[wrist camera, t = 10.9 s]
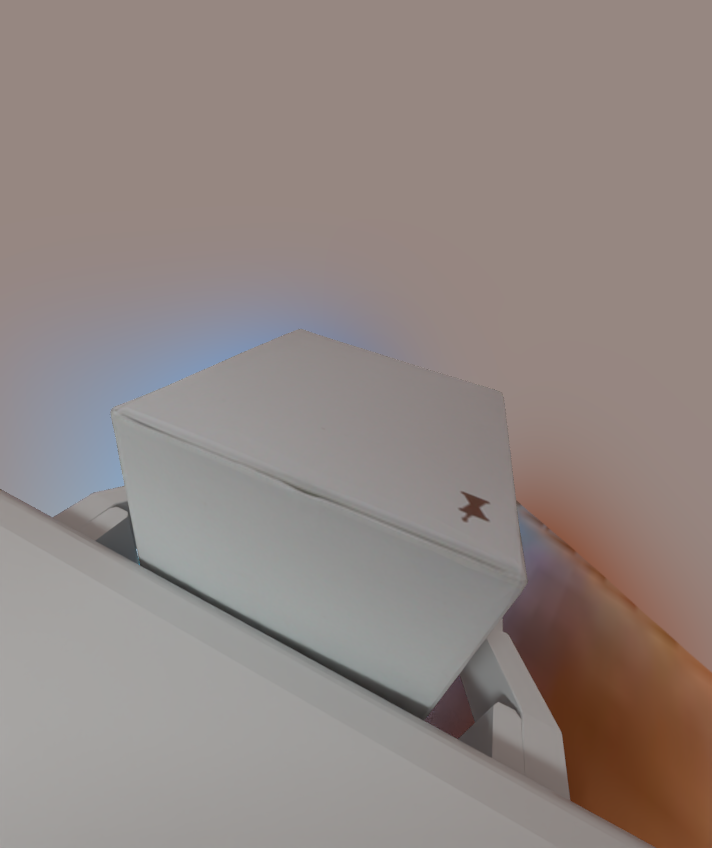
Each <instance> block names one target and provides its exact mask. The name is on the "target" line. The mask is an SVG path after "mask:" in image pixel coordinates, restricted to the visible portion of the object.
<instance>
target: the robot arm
mask: <svg viewBox="0 0 712 848" xmlns="http://www.w3.org/2000/svg"><path fill="white" fill-rule="evenodd" d="M136 549H137V546H136V541H135V536H134V531H133V526H132V520H131V515H130V510H129V505H128V500H127V495H126V490H125V486H122V487H118V488H113V489H108V490H104V491H99V492H94V493H92V494H90V495H89V496H87V497H85V498H84V499H82V500H81V501H79V502H77V503H76V504H74V505H72V506H71V507H69V508H67V509H66V510H64V511H63V512H61V513H59V514H58V515H56V516H54V517H53V518H52V517H51V516H49V515H47V514H45V513H43V512H41V511H40V510H38V509H36V508H34V507H32V506H30V505H29V504H27V503H25V502H23V501H21V500H20V499H18V498H16V497H14V496H12V495H10V494H9V493H7V492H5V491H3V490H1V489H0V848H656V847H654V846H652V845H650V844H648V843H647V842H645V841H643V840H641V839H639V838H637V837H636V836H634V835H632V834H630V833H628V832H626V831H625V830H623V829H621V828H619V827H617V826H615V825H614V824H612V823H610V822H608V821H606V820H604V819H603V818H601V817H599V816H597V815H595V814H593V813H592V812H590V811H588V810H586V809H584V808H582V807H581V806H579V805H577V804H575V803H573V802H572V801H570V794H569V786H568V779H567V771H566V763H565V755H564V747H563V739H562V733H561V731H560V729H559V727H558V725H557V723H556V721H555V720H554V718H553V716H552V714H551V712H550V710H549V709H548V707H547V705H546V703H545V701H544V699H543V697H542V696H541V694H540V692H539V690H538V688H537V686H536V684H535V683H534V681H533V679H532V677H531V675H530V673H529V672H528V670H527V668H526V666H525V664H524V662H523V660H522V659H521V657H520V655H519V653H518V651H517V649H516V648H515V646H514V644H513V642H512V640H511V638H510V636H509V635H508V634H507V633H505V632H503V617H502V618H501V620H500V621H499V622H498V623H497V625H496V626H495V627H494V629H493V630H492V631H491V632H490V634H489V635H488V636H487V638H486V639H485V640H484V642H483V643H482V644H481V646H480V647H479V649H478V650H477V651H476V652H475V654H474V655H473V656H472V658H471V659H470V660H469V662H468V663H467V664H466V666H465V667H464V669H463V670H462V671H461V673H460V677H461V680H462V683H463V686H464V689H465V693H466V696H467V699H468V702H469V705H470V708H471V711H472V715H473V718H474V721H475V723H474V724H473V725H472V726H471V727H470V728H469V729H468V730H467V731H466V732H465V733H464V734H463V735H462V736H461V737H460V738H458V739H456V738H454V737H453V736H451V735H449V734H447V733H445V732H443V731H442V730H440V729H438V728H436V727H434V726H433V725H431V724H429V723H427V722H425V721H423V720H422V719H420V718H418V717H416V716H414V715H412V714H411V713H409V712H407V711H405V710H403V709H401V708H400V707H398V706H396V705H394V704H392V703H390V702H389V701H387V700H385V699H383V698H381V697H379V696H378V695H376V694H374V693H372V692H370V691H369V690H367V689H365V688H363V687H361V686H359V685H358V684H356V683H354V682H352V681H350V680H348V679H347V678H345V677H343V676H341V675H339V674H337V673H336V672H334V671H332V670H330V669H328V668H327V667H325V666H323V665H321V664H319V663H317V662H316V661H314V660H312V659H310V658H308V657H306V656H305V655H303V654H301V653H299V652H297V651H296V650H294V649H292V648H290V647H288V646H286V645H285V644H283V643H281V642H279V641H277V640H275V639H274V638H272V637H270V636H268V635H266V634H264V633H263V632H261V631H259V630H257V629H255V628H253V627H252V626H250V625H248V624H246V623H244V622H243V621H241V620H239V619H237V618H235V617H233V616H232V615H230V614H228V613H226V612H224V611H222V610H221V609H219V608H217V607H215V606H213V605H211V604H210V603H208V602H206V601H204V600H202V599H200V598H199V597H197V596H195V595H193V594H191V593H189V592H188V591H186V590H184V589H182V588H180V587H178V586H177V585H175V584H173V583H171V582H169V581H167V580H166V579H164V578H162V577H160V576H158V575H157V574H155V573H153V572H151V571H149V570H147V569H146V568H144V567H142V566H140V565H138V562H139V560H138V556H137V551H136Z"/></svg>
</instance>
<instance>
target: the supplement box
mask: <svg viewBox="0 0 712 848" xmlns="http://www.w3.org/2000/svg"><path fill="white" fill-rule="evenodd" d="M111 418H112V424H113V428H114V432H115V437H116V442H117V448H118V453H119V460H120V465H121V470H122V474H123V480H124V485H125V490H126V495H127V500H128V505H129V510H130V515H131V520H132V526H133V531H134V536H135V541H136V546H137V551H138V556H139V561H140V566H142V567H144V568H146V569H147V570H149V571H151V572H153V573H155V574H157V575H158V576H160V577H162V578H164V579H166V580H167V581H169V582H171V583H173V584H175V585H177V586H178V587H180V588H182V589H184V590H186V591H188V592H189V593H191V594H193V595H195V596H197V597H199V598H200V599H202V600H204V601H206V602H208V603H210V604H211V605H213V606H215V607H217V608H219V609H221V610H222V611H224V612H226V613H228V614H230V615H232V616H233V617H235V618H237V619H239V620H241V621H243V622H244V623H246V624H248V625H250V626H252V627H253V628H255V629H257V630H259V631H261V632H263V633H264V634H266V635H268V636H270V637H272V638H274V639H275V640H277V641H279V642H281V643H283V644H285V645H286V646H288V647H290V648H292V649H294V650H296V651H297V652H299V653H301V654H303V655H305V656H306V657H308V658H310V659H312V660H314V661H316V662H317V663H319V664H321V665H323V666H325V667H327V668H328V669H330V670H332V671H334V672H336V673H337V674H339V675H341V676H343V677H345V678H347V679H348V680H350V681H352V682H354V683H356V684H358V685H359V686H361V687H363V688H365V689H367V690H369V691H370V692H372V693H374V694H376V695H378V696H379V697H381V698H383V699H385V700H387V701H389V702H390V703H392V704H394V705H396V706H398V707H400V708H401V709H403V710H405V711H407V712H409V713H411V714H412V715H414V716H416V717H418V718H420V719H422V720H423V721H424V720H425V719H426V717H427V716H428V715H429V713H430V712H431V711H432V709H433V708H434V707H435V706H436V704H437V703H438V702H439V700H440V699H441V698H442V696H443V695H444V694H445V692H446V691H447V690H448V688H449V687H450V686H451V684H452V683H453V682H454V681H455V679H456V678H457V677H458V675H459V674H460V673H461V671H462V670H463V669H464V667H465V666H466V664H467V663H468V662H469V660H470V659H471V658H472V656H473V655H474V654H475V652H476V651H477V650H478V649H479V647H480V646H481V644H482V643H483V642H484V640H485V639H486V638H487V636H488V635H489V634H490V632H491V631H492V630H493V629H494V627H495V626H496V625H497V623H498V622H499V621H500V620H501V618H502V617H503V616H504V614H505V613H506V612H507V611H508V609H509V608H510V607H511V605H512V604H513V603H514V602H515V600H516V599H517V598H518V597H519V595H520V594H521V593H522V591H523V589H524V588H525V586H526V585H527V583H528V580H527V574H526V568H525V561H524V555H523V548H522V542H521V535H520V529H519V522H518V514H517V505H516V497H515V488H514V479H513V471H512V463H511V453H510V446H509V437H508V428H507V421H506V412H505V403H504V397H503V394H502V393H501V392H500V391H497V390H495V389H491V388H488V387H484V386H480V385H477V384H474V383H471V382H467V381H464V380H461V379H458V378H454V377H451V376H448V375H444V374H441V373H438V372H435V371H431V370H428V369H425V368H422V367H419V366H415V365H412V364H409V363H406V362H403V361H399V360H396V359H393V358H390V357H387V356H384V355H381V354H377V353H374V352H371V351H368V350H365V349H362V348H358V347H355V346H352V345H349V344H345V343H342V342H339V341H336V340H333V339H330V338H327V337H323V336H320V335H317V334H314V333H311V332H309V331H306V330H303V329H298V330H296V331H293V332H291V333H288V334H285V335H283V336H281V337H278V338H276V339H274V340H271V341H269V342H267V343H264V344H262V345H259V346H257V347H255V348H252V349H250V350H248V351H245V352H243V353H240V354H238V355H236V356H234V357H231V358H229V359H227V360H225V361H222V362H220V363H218V364H216V365H213V366H211V367H209V368H207V369H204V370H202V371H200V372H198V373H195V374H193V375H191V376H189V377H186V378H184V379H182V380H179V381H177V382H175V383H173V384H170V385H168V386H166V387H163V388H161V389H158V390H156V391H154V392H151V393H149V394H146V395H144V396H142V397H139V398H136V399H134V400H131V401H129V402H126V403H123V404H120V405H118V406H115V407H114V408H112V409H111Z"/></svg>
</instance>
